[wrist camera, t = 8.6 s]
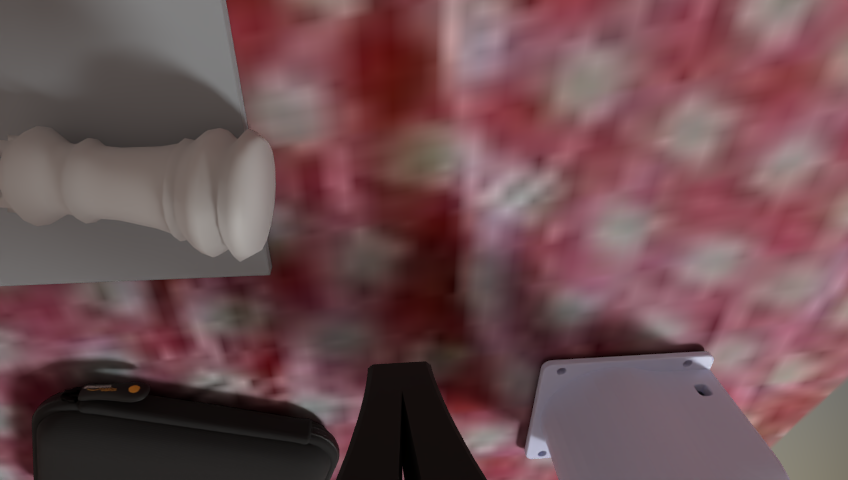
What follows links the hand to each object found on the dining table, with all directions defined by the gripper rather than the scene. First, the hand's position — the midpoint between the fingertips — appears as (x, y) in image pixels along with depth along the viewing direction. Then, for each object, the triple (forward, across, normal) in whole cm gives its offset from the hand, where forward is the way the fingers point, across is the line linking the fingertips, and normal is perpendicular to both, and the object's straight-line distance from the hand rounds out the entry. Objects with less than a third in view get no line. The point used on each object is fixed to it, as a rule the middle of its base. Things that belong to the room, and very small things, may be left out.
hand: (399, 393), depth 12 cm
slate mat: (+10, +12, -2) cm, 16 cm away
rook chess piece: (+8, +4, -1) cm, 9 cm away
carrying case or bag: (+11, +11, +15) cm, 22 cm away
